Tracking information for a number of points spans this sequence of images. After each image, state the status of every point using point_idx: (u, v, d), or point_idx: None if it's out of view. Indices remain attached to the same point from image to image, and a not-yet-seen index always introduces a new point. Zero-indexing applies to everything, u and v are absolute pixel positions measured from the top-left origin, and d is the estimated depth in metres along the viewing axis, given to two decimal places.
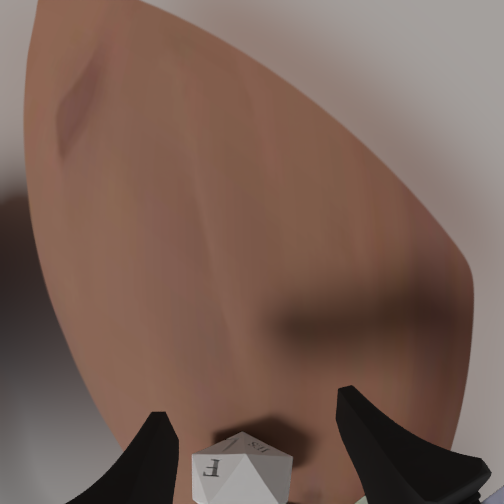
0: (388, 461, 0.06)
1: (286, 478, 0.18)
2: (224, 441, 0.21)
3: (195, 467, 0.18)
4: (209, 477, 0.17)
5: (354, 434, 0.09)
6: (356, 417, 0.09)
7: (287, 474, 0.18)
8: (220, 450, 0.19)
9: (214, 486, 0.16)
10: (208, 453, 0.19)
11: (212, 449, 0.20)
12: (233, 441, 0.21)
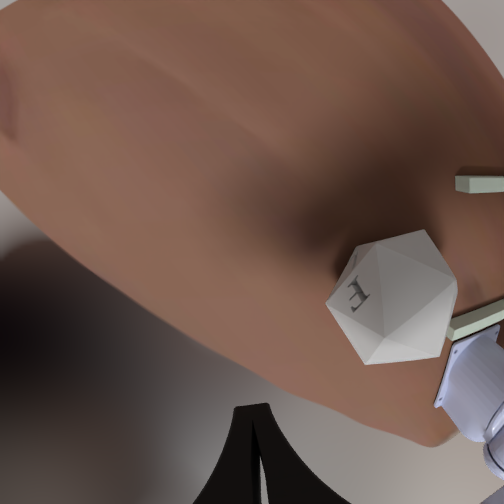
0: (267, 491, 0.06)
1: (437, 250, 0.15)
2: (347, 265, 0.19)
3: (339, 313, 0.17)
4: (361, 306, 0.15)
5: (260, 454, 0.09)
6: (257, 438, 0.09)
7: (434, 246, 0.15)
8: (349, 271, 0.17)
9: (374, 310, 0.14)
10: (340, 284, 0.17)
11: (341, 279, 0.18)
12: (355, 256, 0.18)
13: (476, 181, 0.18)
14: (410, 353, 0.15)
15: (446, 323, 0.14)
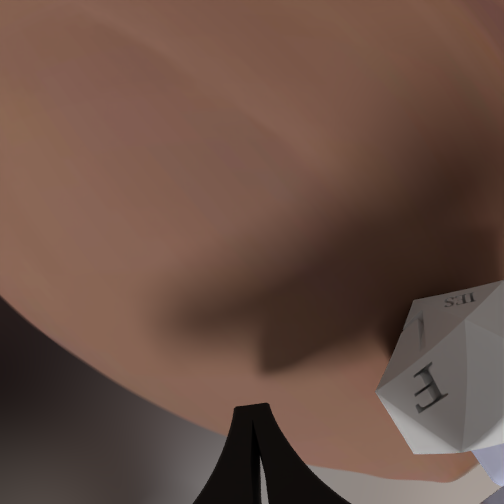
0: (267, 491, 0.06)
1: None
2: (404, 333, 0.12)
3: (395, 408, 0.10)
4: (432, 408, 0.08)
5: (260, 454, 0.09)
6: (257, 438, 0.09)
7: None
8: (415, 350, 0.10)
9: (452, 416, 0.08)
10: (400, 370, 0.10)
11: (400, 359, 0.11)
12: (418, 322, 0.12)
13: None
14: None
15: None
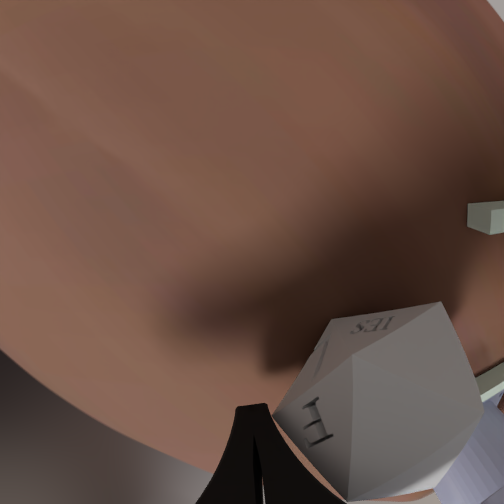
0: (264, 491, 0.06)
1: (460, 348, 0.08)
2: (311, 356, 0.12)
3: None
4: (319, 446, 0.08)
5: (258, 454, 0.09)
6: (254, 438, 0.09)
7: (456, 339, 0.08)
8: (309, 378, 0.10)
9: (337, 460, 0.07)
10: (293, 398, 0.10)
11: (297, 385, 0.11)
12: (324, 346, 0.11)
13: (501, 214, 0.10)
14: None
15: (453, 460, 0.07)
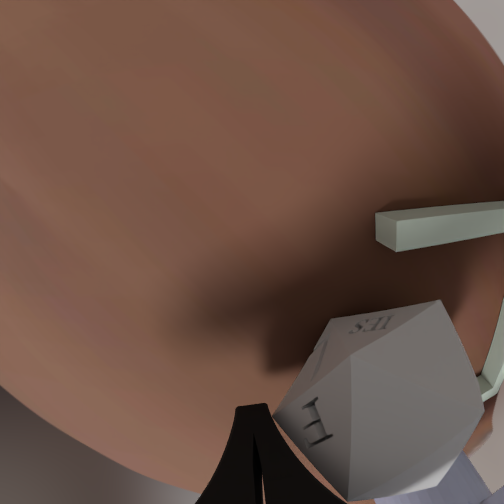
0: (264, 491, 0.06)
1: (459, 347, 0.08)
2: (311, 356, 0.12)
3: (289, 437, 0.10)
4: (319, 446, 0.08)
5: (258, 454, 0.09)
6: (254, 438, 0.09)
7: (456, 338, 0.08)
8: (308, 379, 0.10)
9: (337, 460, 0.07)
10: (292, 398, 0.10)
11: (297, 385, 0.11)
12: (324, 346, 0.11)
13: (415, 226, 0.10)
14: None
15: (454, 459, 0.07)
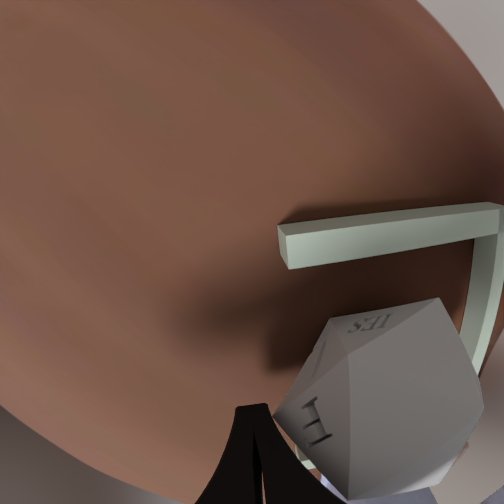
0: None
1: (459, 345, 0.08)
2: (310, 356, 0.12)
3: (290, 437, 0.10)
4: (318, 445, 0.08)
5: (258, 454, 0.09)
6: (255, 438, 0.09)
7: (455, 336, 0.08)
8: (307, 378, 0.10)
9: (336, 460, 0.07)
10: (292, 398, 0.10)
11: (297, 385, 0.11)
12: (323, 345, 0.11)
13: (312, 240, 0.10)
14: None
15: (455, 457, 0.07)
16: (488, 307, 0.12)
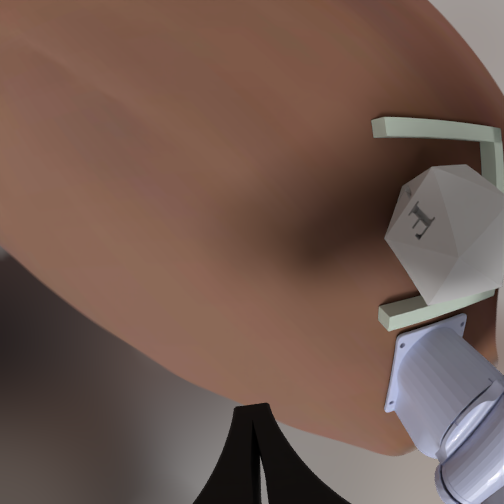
0: (267, 491, 0.06)
1: (484, 179, 0.13)
2: (398, 202, 0.17)
3: (402, 245, 0.15)
4: (427, 232, 0.13)
5: (260, 454, 0.09)
6: (257, 438, 0.09)
7: (481, 176, 0.13)
8: (406, 201, 0.15)
9: (442, 232, 0.12)
10: (399, 216, 0.15)
11: (397, 213, 0.16)
12: (406, 191, 0.17)
13: (397, 121, 0.15)
14: (477, 282, 0.13)
15: None
16: None
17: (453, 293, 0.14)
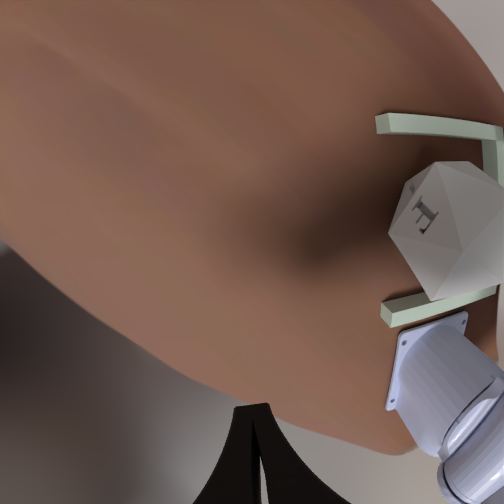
0: (267, 491, 0.06)
1: (487, 175, 0.13)
2: (401, 197, 0.17)
3: (405, 240, 0.15)
4: (431, 226, 0.13)
5: (260, 454, 0.09)
6: (257, 438, 0.09)
7: (483, 172, 0.13)
8: (409, 196, 0.15)
9: (446, 226, 0.12)
10: (402, 210, 0.15)
11: (401, 208, 0.16)
12: (409, 187, 0.16)
13: (400, 118, 0.15)
14: (480, 277, 0.13)
15: None
16: None
17: (456, 288, 0.14)
